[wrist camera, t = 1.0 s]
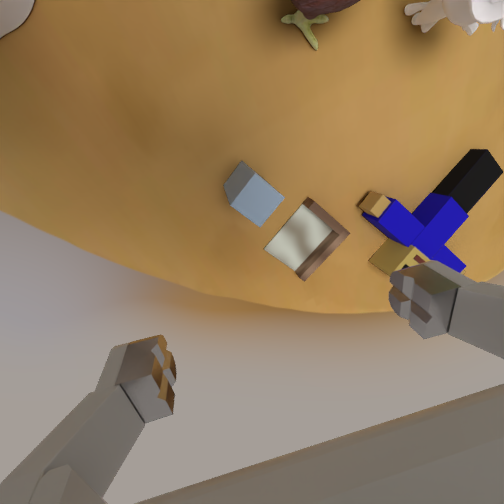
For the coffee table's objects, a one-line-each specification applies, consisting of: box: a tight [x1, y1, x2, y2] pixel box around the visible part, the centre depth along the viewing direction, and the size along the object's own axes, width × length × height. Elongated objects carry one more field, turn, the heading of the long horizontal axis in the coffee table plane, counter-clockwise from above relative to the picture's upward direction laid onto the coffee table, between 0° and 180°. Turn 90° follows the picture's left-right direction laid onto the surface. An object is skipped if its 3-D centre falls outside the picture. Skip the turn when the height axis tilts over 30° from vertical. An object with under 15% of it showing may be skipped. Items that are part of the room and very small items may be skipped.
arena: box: [264, 197, 350, 281], centre depth 49 cm, size 12×10×3 cm
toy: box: [359, 149, 503, 276], centre depth 50 cm, size 30×7×27 cm
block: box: [223, 161, 285, 227], centre depth 38 cm, size 5×5×12 cm
